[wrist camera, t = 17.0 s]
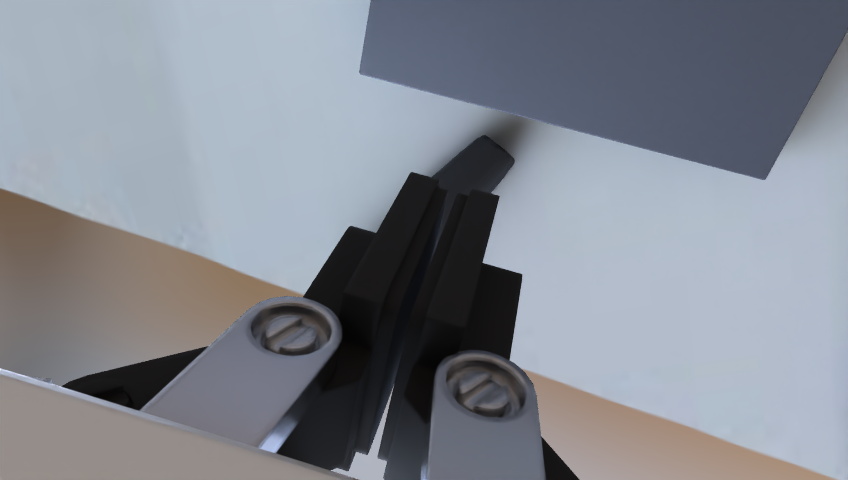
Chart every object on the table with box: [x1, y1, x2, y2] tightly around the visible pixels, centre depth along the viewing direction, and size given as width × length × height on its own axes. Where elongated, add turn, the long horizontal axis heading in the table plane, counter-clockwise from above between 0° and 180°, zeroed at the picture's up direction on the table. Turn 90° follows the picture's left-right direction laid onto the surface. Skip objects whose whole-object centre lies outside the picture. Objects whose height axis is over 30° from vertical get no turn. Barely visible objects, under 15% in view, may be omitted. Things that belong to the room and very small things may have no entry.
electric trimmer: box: [432, 135, 515, 250], centre depth 40 cm, size 4×16×3 cm, turn 142°
